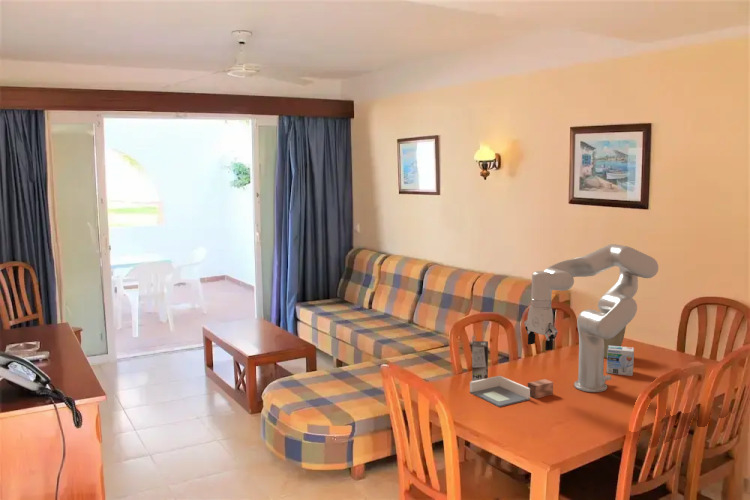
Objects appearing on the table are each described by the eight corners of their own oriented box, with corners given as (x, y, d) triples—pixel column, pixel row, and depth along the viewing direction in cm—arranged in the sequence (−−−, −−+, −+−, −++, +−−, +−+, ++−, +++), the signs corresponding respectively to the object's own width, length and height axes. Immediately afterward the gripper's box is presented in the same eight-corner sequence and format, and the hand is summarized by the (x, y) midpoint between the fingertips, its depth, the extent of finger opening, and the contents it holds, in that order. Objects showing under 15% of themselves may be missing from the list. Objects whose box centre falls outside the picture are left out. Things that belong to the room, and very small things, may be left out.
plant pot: (588, 351, 308) (589, 318, 306) (620, 352, 306) (621, 319, 304) (594, 360, 294) (595, 326, 292) (628, 361, 292) (629, 327, 290)
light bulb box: (606, 373, 276) (607, 349, 274) (607, 368, 282) (607, 344, 281) (633, 376, 272) (634, 351, 270) (633, 371, 278) (634, 347, 277)
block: (544, 391, 256) (545, 378, 255) (552, 394, 252) (553, 382, 251) (527, 395, 252) (527, 382, 251) (535, 398, 248) (535, 386, 247)
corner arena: (499, 386, 262) (499, 375, 262) (529, 399, 247) (530, 388, 246) (469, 392, 255) (469, 381, 255) (499, 407, 240) (499, 395, 239)
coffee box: (487, 385, 264) (487, 346, 262) (471, 384, 265) (471, 346, 263) (488, 378, 273) (488, 340, 271) (472, 377, 274) (472, 340, 272)
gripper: (518, 300, 253) (517, 343, 255) (549, 308, 238) (548, 353, 240) (533, 298, 256) (532, 340, 258) (565, 306, 241) (563, 351, 243)
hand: (540, 346), depth 249 cm, fingers open, 9 cm apart
